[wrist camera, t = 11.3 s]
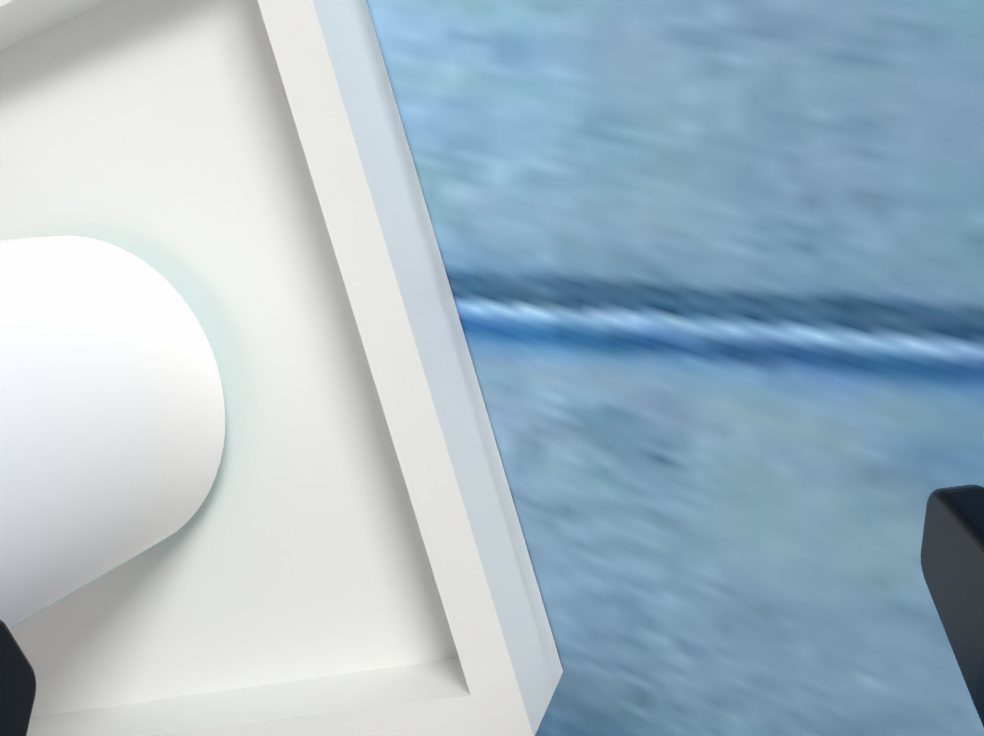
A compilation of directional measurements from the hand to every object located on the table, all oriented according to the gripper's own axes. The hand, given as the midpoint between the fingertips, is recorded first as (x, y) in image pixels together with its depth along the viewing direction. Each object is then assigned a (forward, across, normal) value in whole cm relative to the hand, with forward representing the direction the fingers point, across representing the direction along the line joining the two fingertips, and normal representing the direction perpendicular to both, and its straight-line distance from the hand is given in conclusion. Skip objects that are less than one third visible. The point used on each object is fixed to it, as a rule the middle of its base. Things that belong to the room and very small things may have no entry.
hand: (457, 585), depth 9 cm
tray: (+12, +9, +4) cm, 15 cm away
